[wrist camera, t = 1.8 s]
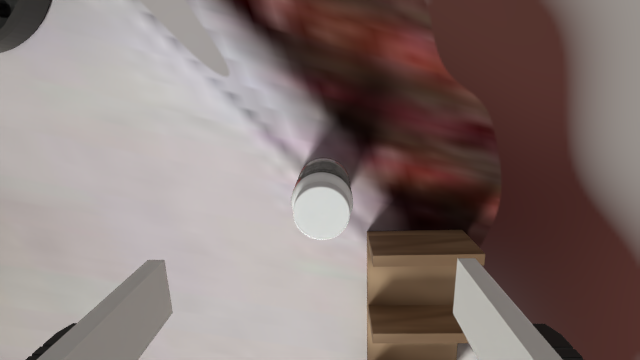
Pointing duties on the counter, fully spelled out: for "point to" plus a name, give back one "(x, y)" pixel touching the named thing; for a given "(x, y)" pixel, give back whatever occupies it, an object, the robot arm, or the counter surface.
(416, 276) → the rack
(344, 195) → the pill bottle
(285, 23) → the counter surface
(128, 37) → the counter surface
